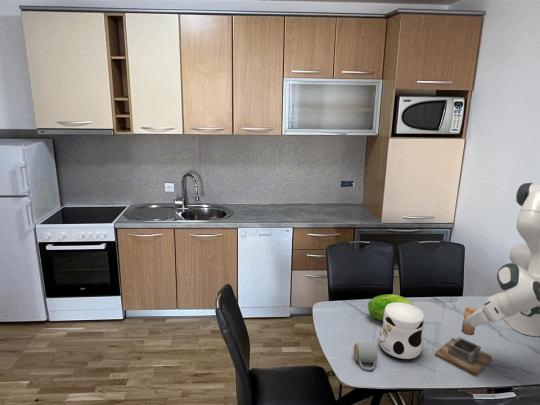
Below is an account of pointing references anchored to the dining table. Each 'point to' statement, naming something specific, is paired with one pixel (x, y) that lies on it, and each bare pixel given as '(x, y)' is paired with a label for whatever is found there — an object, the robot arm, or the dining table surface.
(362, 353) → the ceramic mug
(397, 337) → the milk container
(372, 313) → the lettuce
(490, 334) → the dining table surface
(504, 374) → the dining table surface
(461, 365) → the stand
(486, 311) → the robot arm
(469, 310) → the post
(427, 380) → the dining table surface
